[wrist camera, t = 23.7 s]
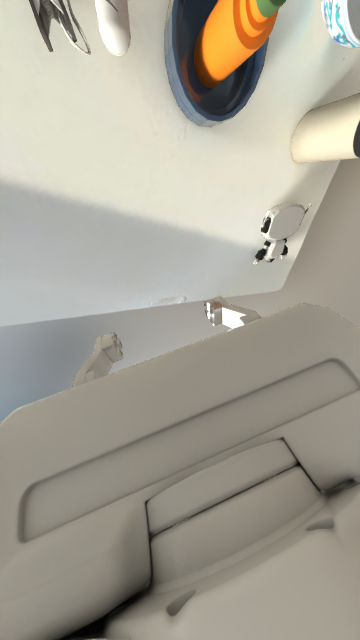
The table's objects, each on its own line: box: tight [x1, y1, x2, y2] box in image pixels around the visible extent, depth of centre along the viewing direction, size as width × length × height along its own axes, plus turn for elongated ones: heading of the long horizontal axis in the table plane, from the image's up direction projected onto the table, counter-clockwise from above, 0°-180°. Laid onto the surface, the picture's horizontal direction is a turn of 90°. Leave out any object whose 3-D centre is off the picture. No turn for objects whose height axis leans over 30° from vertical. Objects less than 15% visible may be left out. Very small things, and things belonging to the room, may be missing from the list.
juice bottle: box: [194, 0, 286, 88], centre depth 20 cm, size 6×6×14 cm
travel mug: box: [291, 93, 360, 163], centre depth 30 cm, size 8×8×18 cm
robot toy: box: [253, 202, 312, 264], centre depth 46 cm, size 12×4×15 cm
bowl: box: [165, 0, 269, 127], centre depth 24 cm, size 14×14×4 cm
